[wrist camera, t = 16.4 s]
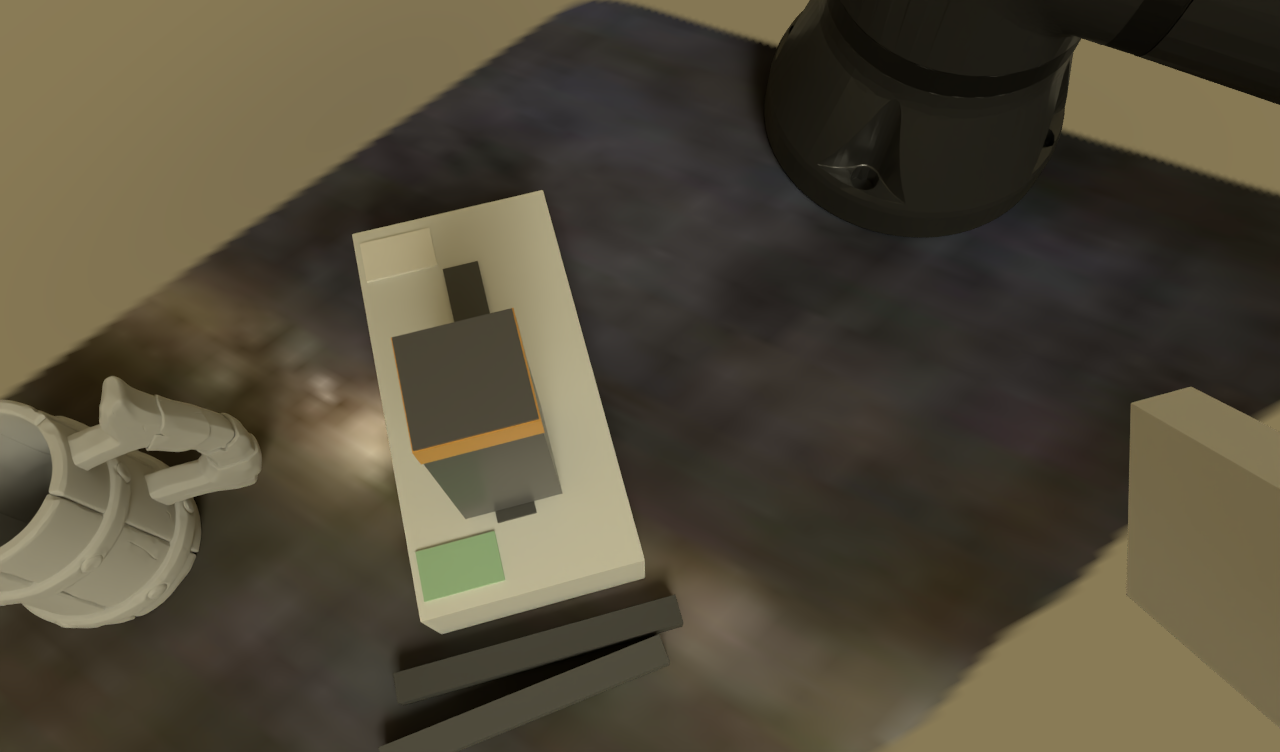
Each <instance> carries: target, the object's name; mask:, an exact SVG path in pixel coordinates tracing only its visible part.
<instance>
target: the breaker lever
mask: <svg viewBox="0 0 1280 752" xmlns="http://www.w3.org/2000/svg"><path fill="white" fill-rule="evenodd" d="M391 342H392V347H393V352H394V358H395V363H396V368H397V374H398V379H399V385H400V390H401V395H402V401H403V406H404V411H405V417H406V422H407V427H408V433H409V438H410V444H411V449H412V454H413V455H414V456H415V457H416V459H417V460H418V461H419V463H420V464H424V466H425V467H426V468H427V470H428V471H429V472H430V473H431V475H432V476H433V477H434V479H435V480H436V481H437V483H438V484H439V485H440V487H441V488H442V489H443V490H444V492H445V493H446V494H447V496H448V497H449V498H450V500H451V501H452V502H453V503H454V505H455V506H456V507H457V509H458V510H459V511H460V513H461V514H462V515H463V517H464V518H465V519H468V518H472V517H476V516H480V515H483V514H487V513H491V512H495V511H498V510H502V509H506V508H510V507H514V506H517V505H521V504H525V503H529V502H532V501H536V500H540V499H544V498H547V497H551V496H555V495H559V494H563V493H562V489H561V485H560V481H559V477H558V473H557V469H556V465H555V461H554V456H553V452H552V448H551V444H550V440H549V436H548V432H547V428H546V424H545V420H544V416H543V412H542V408H541V404H540V401H539V397H538V394H537V391H536V387H535V384H534V381H533V377H532V374H531V371H530V367H529V364H528V361H527V357H526V354H525V350H524V346H523V342H522V338H521V334H520V330H519V326H518V322H517V318H516V315H515V312H514V308H510V309H506V310H502V311H498V312H494V313H490V314H485V315H481V316H477V317H473V318H469V319H465V320H461V321H457V322H453V323H449V324H444V325H440V326H436V327H432V328H428V329H424V330H420V331H416V332H412V333H408V334H404V335H399V336H395V337H392V338H391Z"/></svg>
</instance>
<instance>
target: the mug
mask: <svg viewBox="0 0 1280 752" xmlns="http://www.w3.org/2000/svg"><path fill="white" fill-rule="evenodd" d="M99 423H100V424H98V425H95V426H93V427H89V426H87V425H85V424H83V423H80V422H78V421H75V420H73V419H70V418H67V417H64V416H51V415H49V414H47V413H45V412H43V411H40V410H36V409H35V408H34V407H32V406H29V405H26V404H23V403H20V402H15V401H10V400H0V606H5V605H7V604H16V603H22V604H23V605H24V606H25V607H26V608H27V609H28V610H29V611H31V612H32V613H33V614H35V615H37V616H39V617H40V618H43V619H45V620H47V621H49V622H52V623H56V624H57V625H59V626H61V627H64V628H96V627H100V626H103V625H106V624H117V623H123V622H126V621H129V620H132V619H134V618H135V616H142V615H145V614H147V613H148V612H150V611H152V610H154V609H155V608H156V607H158V606H159V605H160V604H162V603H163V602H164V601H165V600H166V599H167V598H168V597H169V596H170V595H171V594H172V593H173V592H174V590H175V589H176V588H177V587H178V585H179V584H180V583H181V582H182V580H183V579H184V578H185V576H186V575H187V574H188V573H189V571H190V570H191V568H192V566H193V563H194V561H195V558H196V555H195V554H194V553H192V552H198V551H199V546H200V541H201V520H200V515H199V511H198V508H197V505H196V503H195V500H194V498H193V497H195V496H199V495H203V494H207V493H211V492H216V491H221V490H231V489H238V488H242V487H246V486H250V485H252V484H254V483H256V481H257V479H258V474H259V473H260V472H261V468H262V453H261V450H260V447H259V444H258V442H257V440H256V438H255V437H254V435H253V434H251V433H248V432H247V430H246V428H244V427H243V425H242V424H241V422H240V421H238V420H237V419H236V418H234V417H233V416H231V415H229V414H227V413H220V414H219V413H217V412H214V411H211V410H208V409H205V408H202V407H198V406H196V405H194V404H189V403H184V402H179V401H175V400H171V399H168V398H165V397H162V396H159V395H154V396H153V395H150V394H148V393H145V392H142V391H139V390H137V389H134V388H132V387H131V386H129V385H128V384H126V383H125V382H124V381H123V380H122V379H120V378H118V377H115V376H110V377H108V378H106V379H105V380H104V382H103V386H102V396H101V403H100V405H99ZM141 448H146V450H147V451H170V452H183V451H187V450H190V449H192V450H197V451H198V452H200V453H202V455H201V456H200V457H199V459H198V460H194V461H191V462H187V463H184V464H180V465H176V466H173V467H169V466H168V465H166V464H165V463H163V462H162V461H160V460H158V459H156V458H155V457H152V456H150V455H148V454H145V453H142V452H140V451H138V450H137V449H141Z"/></svg>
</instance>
